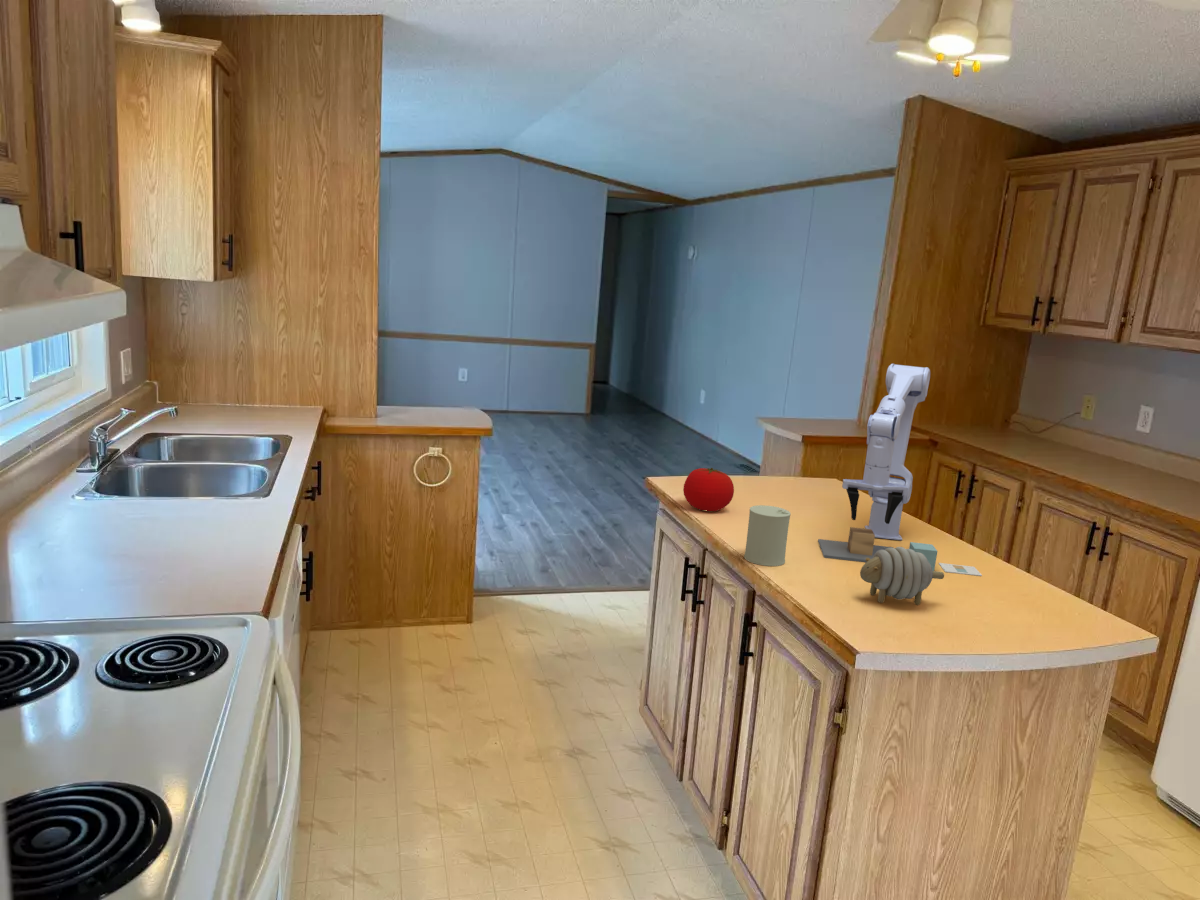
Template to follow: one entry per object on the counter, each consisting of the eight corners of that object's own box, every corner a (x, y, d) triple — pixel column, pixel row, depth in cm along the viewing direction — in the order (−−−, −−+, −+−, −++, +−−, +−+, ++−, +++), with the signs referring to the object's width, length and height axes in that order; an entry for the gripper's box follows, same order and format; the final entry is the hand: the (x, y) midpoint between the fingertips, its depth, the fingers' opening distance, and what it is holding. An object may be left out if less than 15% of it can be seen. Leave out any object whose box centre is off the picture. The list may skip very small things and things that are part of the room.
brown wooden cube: (847, 546, 201) (850, 527, 200) (868, 549, 201) (871, 529, 200) (850, 553, 197) (853, 532, 196) (872, 555, 196) (875, 535, 195)
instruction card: (938, 563, 196) (938, 562, 196) (974, 567, 195) (974, 566, 195) (945, 571, 190) (945, 570, 190) (981, 576, 189) (981, 575, 189)
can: (785, 568, 184) (791, 516, 182) (743, 563, 186) (749, 511, 183) (784, 556, 193) (790, 506, 191) (744, 550, 195) (750, 501, 192)
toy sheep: (847, 589, 174) (854, 538, 172) (924, 591, 176) (932, 541, 174) (868, 608, 164) (876, 555, 161) (949, 611, 165) (958, 558, 163)
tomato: (673, 504, 232) (677, 463, 229) (714, 501, 238) (719, 462, 235) (697, 517, 220) (701, 474, 218) (740, 514, 226) (744, 472, 224)
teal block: (906, 562, 195) (910, 542, 194) (929, 564, 194) (932, 544, 193) (911, 569, 190) (914, 548, 189) (934, 571, 190) (937, 551, 189)
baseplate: (817, 541, 206) (818, 538, 206) (892, 549, 204) (893, 547, 204) (823, 557, 194) (824, 555, 194) (903, 566, 191) (904, 564, 191)
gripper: (848, 465, 191) (840, 521, 194) (913, 471, 189) (905, 529, 192) (844, 459, 198) (837, 514, 201) (907, 465, 196) (899, 520, 199)
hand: (870, 520), depth 197 cm, fingers open, 7 cm apart
